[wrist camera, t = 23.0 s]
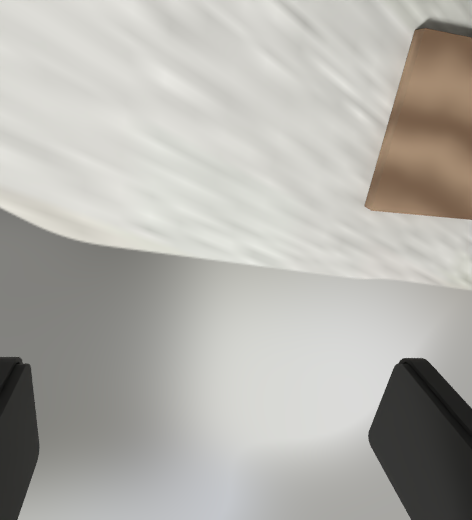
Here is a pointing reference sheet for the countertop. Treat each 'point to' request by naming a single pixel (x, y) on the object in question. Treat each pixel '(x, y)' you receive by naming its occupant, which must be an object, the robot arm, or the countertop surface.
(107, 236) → the countertop surface
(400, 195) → the board
